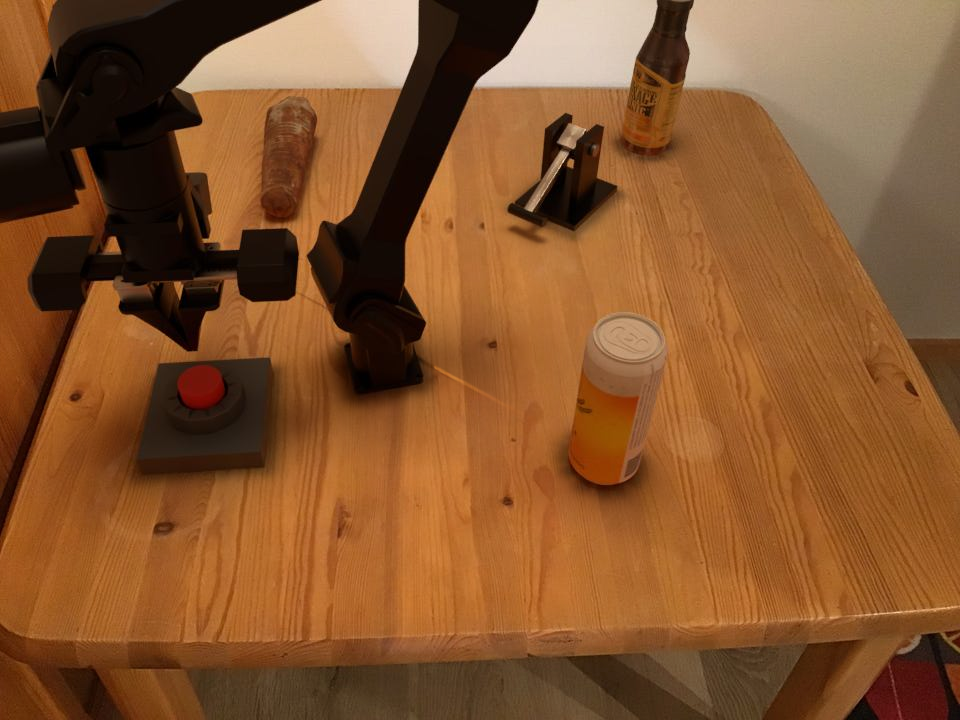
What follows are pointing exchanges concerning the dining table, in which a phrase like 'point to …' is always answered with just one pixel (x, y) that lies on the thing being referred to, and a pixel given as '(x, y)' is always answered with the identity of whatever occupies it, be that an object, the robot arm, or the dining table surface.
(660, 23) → the sauce bottle
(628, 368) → the beer can
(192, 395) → the button
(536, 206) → the lever
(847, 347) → the dining table surface
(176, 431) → the button box
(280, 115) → the brown tapered cylinder
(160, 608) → the dining table surface
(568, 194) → the bracket
